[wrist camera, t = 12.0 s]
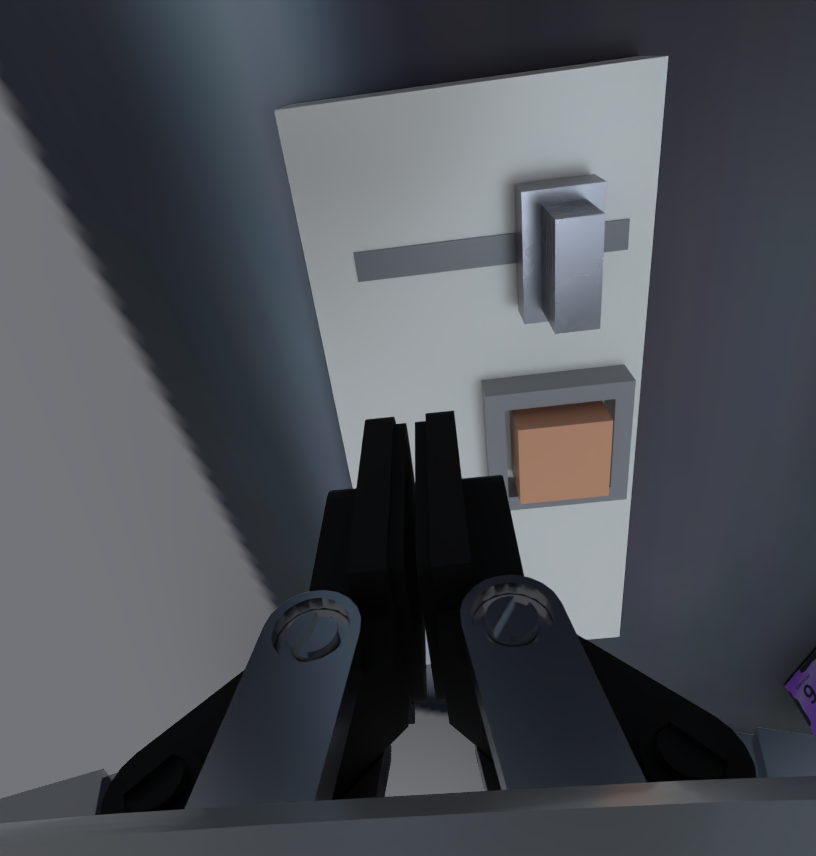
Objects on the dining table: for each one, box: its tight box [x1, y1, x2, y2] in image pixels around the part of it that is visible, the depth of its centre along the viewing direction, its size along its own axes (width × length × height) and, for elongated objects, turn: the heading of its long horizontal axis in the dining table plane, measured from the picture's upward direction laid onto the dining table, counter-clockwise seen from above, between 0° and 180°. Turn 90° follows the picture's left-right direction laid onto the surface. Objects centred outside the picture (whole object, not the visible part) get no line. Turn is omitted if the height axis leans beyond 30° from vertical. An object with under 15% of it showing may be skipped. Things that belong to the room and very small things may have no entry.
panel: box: [274, 56, 668, 640], centre depth 30 cm, size 14×30×5 cm, turn 7°
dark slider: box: [514, 174, 607, 334], centre depth 23 cm, size 3×5×4 cm, turn 7°
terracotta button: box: [510, 400, 613, 504], centre depth 28 cm, size 4×4×2 cm
